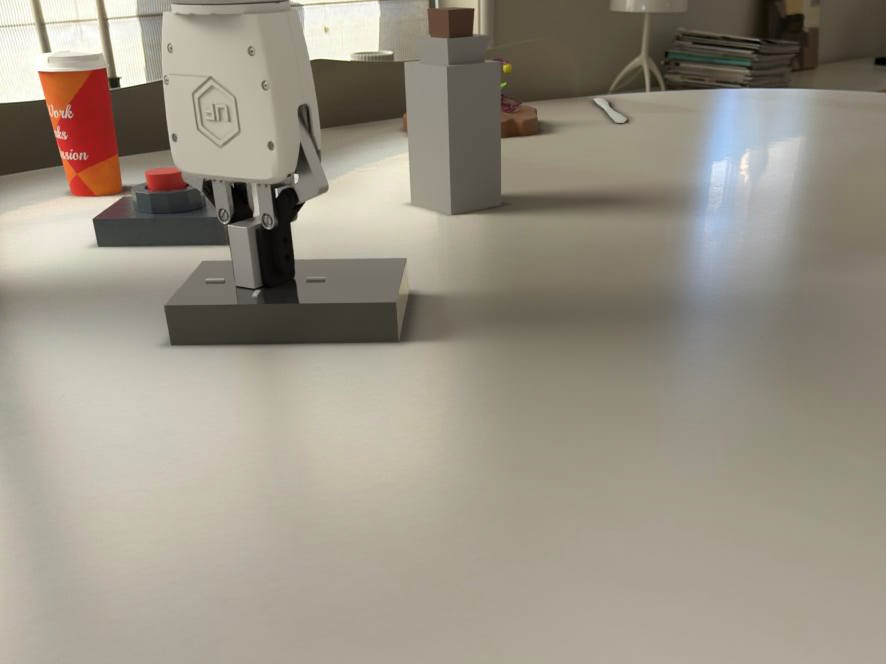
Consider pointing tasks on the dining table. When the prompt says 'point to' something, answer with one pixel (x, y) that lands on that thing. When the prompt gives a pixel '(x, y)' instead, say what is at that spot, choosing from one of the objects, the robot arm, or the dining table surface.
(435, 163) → the perfume bottle
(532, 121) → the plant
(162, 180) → the power button
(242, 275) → the white block red tab
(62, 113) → the paper cup
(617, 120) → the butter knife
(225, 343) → the dark grey base block
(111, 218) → the switch block
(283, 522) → the dining table surface
